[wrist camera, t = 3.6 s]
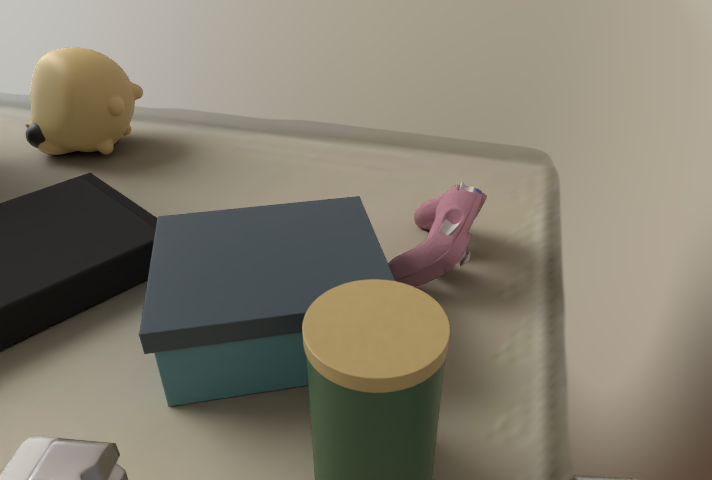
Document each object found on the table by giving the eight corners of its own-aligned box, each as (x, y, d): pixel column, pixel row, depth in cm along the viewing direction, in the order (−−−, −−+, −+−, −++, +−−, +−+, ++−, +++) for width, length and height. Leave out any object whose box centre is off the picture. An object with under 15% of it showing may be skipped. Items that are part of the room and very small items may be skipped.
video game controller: (428, 315, 42) (482, 252, 38) (375, 281, 43) (423, 215, 38) (456, 244, 50) (503, 185, 46) (412, 215, 50) (454, 154, 46)
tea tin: (414, 413, 33) (425, 271, 28) (450, 514, 28) (472, 365, 23) (305, 431, 32) (294, 288, 27) (322, 540, 27) (312, 390, 22)
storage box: (359, 263, 45) (359, 195, 42) (399, 376, 35) (403, 299, 32) (173, 286, 43) (157, 216, 40) (160, 413, 33) (138, 334, 30)
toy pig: (115, 158, 69) (33, 98, 66) (169, 85, 64) (83, 16, 61) (76, 196, 61) (-20, 130, 58) (134, 115, 56) (32, 37, 53)
